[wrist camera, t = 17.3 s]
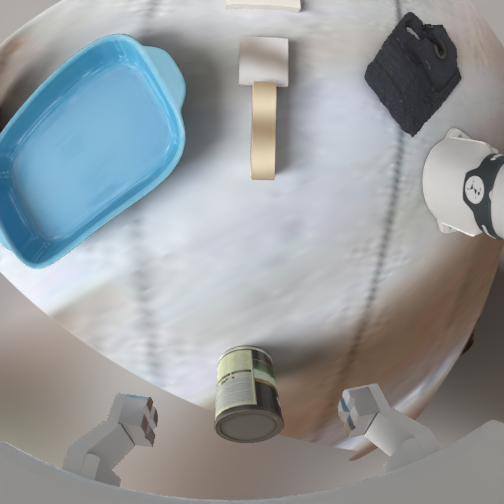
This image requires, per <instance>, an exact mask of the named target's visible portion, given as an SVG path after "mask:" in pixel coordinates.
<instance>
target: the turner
mask: <svg viewBox="0 0 504 504" xmlns="http://www.w3.org/2000/svg"><path fill="white" fill-rule="evenodd" d="M239 85H246V86H252V104H251V165H250V177H251V178H252V180H274V177H275V139H276V87H286V88H287V87H288V39H283V38H271V37H252V36H240V54H239Z"/></svg>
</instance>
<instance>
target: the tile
mask: <svg viewBox="0 0 504 504" xmlns="http://www.w3.org/2000/svg"><path fill="white" fill-rule="evenodd" d="M226 9H263V10H278V11H289V12H299V11H300V9H301V5H300V0H226Z"/></svg>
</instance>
